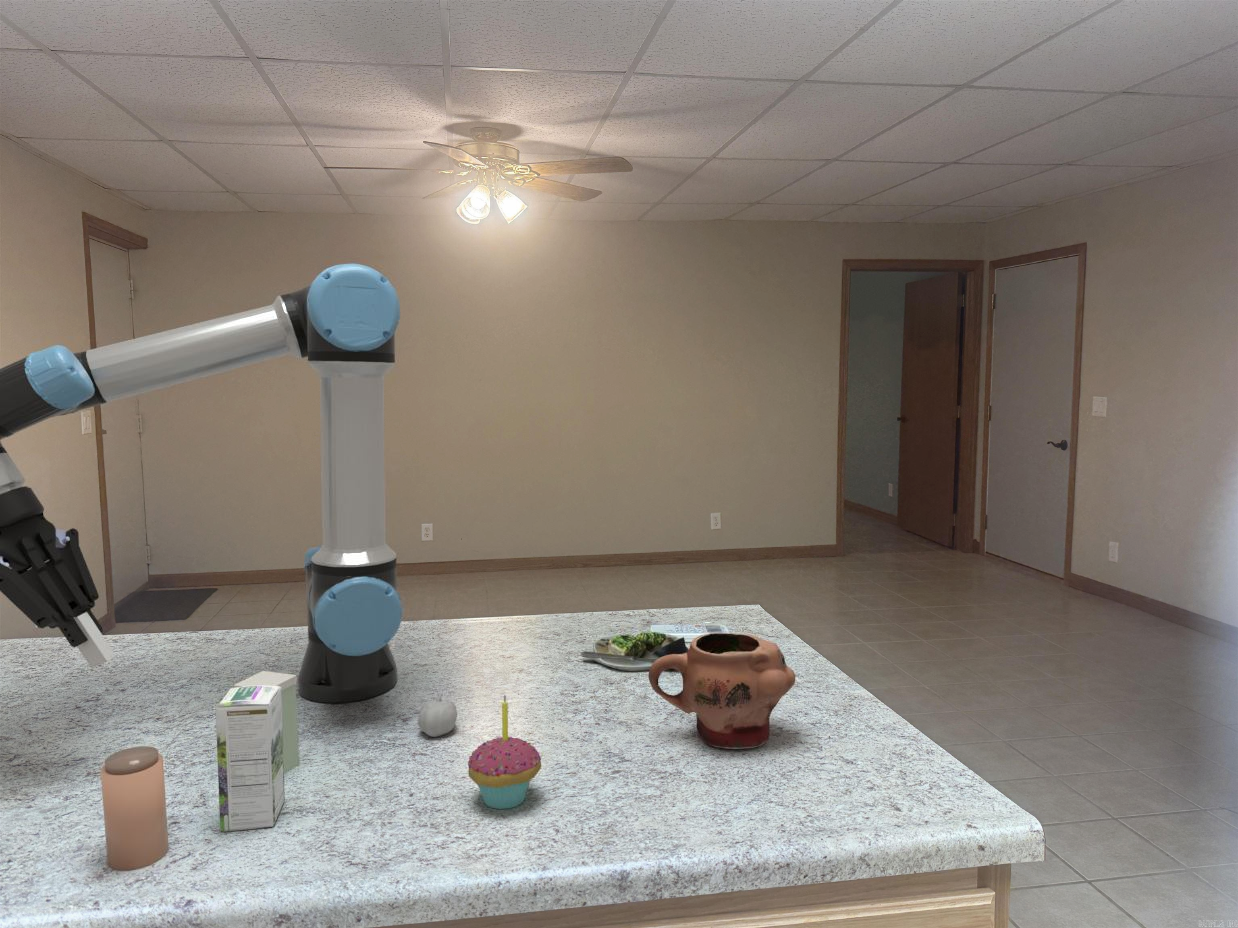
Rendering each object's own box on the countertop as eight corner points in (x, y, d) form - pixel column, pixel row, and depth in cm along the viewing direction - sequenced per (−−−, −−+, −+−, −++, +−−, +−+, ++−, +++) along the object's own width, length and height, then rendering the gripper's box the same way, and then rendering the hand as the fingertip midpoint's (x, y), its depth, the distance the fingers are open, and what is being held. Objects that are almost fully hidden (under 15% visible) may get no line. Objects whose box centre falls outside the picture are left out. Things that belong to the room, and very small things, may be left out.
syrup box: (233, 806, 98) (226, 686, 96) (287, 801, 99) (281, 682, 97) (219, 833, 92) (212, 705, 91) (276, 827, 93) (270, 701, 92)
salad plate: (586, 681, 138) (586, 653, 138) (574, 645, 156) (574, 621, 155) (700, 674, 141) (700, 647, 141) (676, 640, 159) (676, 616, 158)
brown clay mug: (656, 762, 109) (656, 658, 107) (642, 723, 121) (643, 629, 119) (806, 754, 111) (808, 651, 109) (778, 716, 123) (780, 623, 121)
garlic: (436, 720, 122) (435, 686, 121) (466, 727, 119) (466, 692, 119) (408, 737, 116) (407, 700, 116) (440, 744, 114) (439, 707, 113)
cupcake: (472, 783, 103) (470, 689, 102) (541, 780, 104) (540, 686, 103) (465, 820, 95) (463, 718, 93) (541, 816, 95) (540, 715, 94)
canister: (169, 834, 92) (162, 740, 91) (168, 861, 87) (162, 761, 86) (109, 848, 89) (102, 751, 88) (105, 876, 84) (97, 773, 83)
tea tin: (267, 757, 110) (262, 670, 109) (300, 763, 109) (296, 675, 107) (238, 775, 105) (233, 685, 104) (272, 782, 104) (268, 689, 102)
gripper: (19, 495, 109) (121, 648, 112) (-78, 529, 96) (40, 699, 100) (59, 471, 107) (161, 627, 110) (-35, 502, 94) (83, 677, 98)
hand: (103, 661), depth 105 cm, fingers closed
